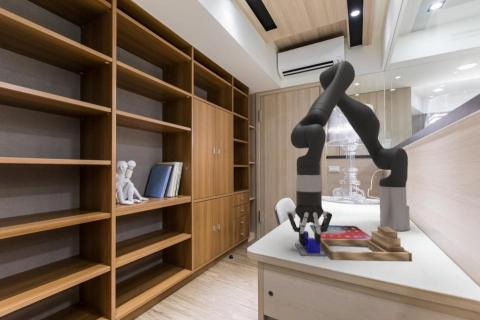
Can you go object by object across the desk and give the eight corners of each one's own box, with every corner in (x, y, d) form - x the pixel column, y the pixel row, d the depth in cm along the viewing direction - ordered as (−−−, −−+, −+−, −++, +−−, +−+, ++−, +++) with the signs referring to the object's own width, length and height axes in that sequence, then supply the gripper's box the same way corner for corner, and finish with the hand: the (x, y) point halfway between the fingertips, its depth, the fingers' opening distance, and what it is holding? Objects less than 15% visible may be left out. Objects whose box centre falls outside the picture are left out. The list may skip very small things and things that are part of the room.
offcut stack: (385, 245, 70) (384, 225, 71) (404, 256, 62) (403, 233, 62) (370, 245, 71) (369, 225, 71) (387, 256, 62) (386, 233, 62)
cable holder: (320, 253, 64) (320, 239, 64) (308, 253, 64) (307, 239, 64) (312, 243, 72) (311, 231, 72) (301, 243, 72) (300, 231, 72)
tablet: (322, 247, 72) (322, 244, 72) (309, 226, 97) (309, 224, 97) (386, 249, 70) (386, 247, 70) (356, 227, 94) (356, 225, 94)
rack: (386, 245, 72) (386, 239, 72) (411, 261, 60) (411, 253, 60) (318, 244, 73) (318, 238, 73) (331, 259, 61) (331, 252, 61)
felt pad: (316, 245, 73) (316, 243, 73) (325, 256, 64) (325, 254, 64) (295, 244, 73) (295, 243, 73) (301, 255, 64) (301, 253, 64)
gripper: (327, 188, 72) (328, 241, 72) (283, 188, 73) (284, 241, 73) (336, 190, 65) (337, 250, 64) (287, 190, 66) (288, 249, 65)
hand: (309, 245), depth 68 cm, fingers closed on cable holder, 3 cm apart
